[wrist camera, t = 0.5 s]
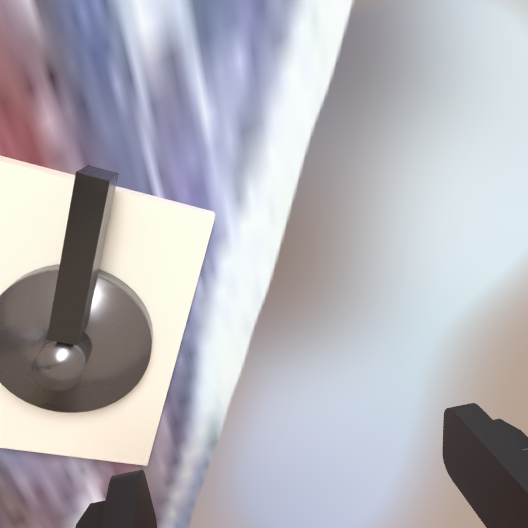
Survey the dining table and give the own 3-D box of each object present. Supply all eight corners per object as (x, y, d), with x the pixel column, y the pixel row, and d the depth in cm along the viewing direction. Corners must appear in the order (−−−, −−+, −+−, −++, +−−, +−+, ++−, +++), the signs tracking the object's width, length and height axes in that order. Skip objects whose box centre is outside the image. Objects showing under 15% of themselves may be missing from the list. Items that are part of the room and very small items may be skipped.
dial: (136, 410, 35) (128, 451, 31) (-17, 386, 32) (-49, 428, 28) (192, 189, 30) (191, 202, 26) (15, 141, 27) (-17, 147, 23)
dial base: (148, 452, 39) (143, 495, 34) (-93, 421, 34) (-133, 465, 30) (214, 212, 32) (217, 227, 28) (-71, 137, 28) (-117, 142, 24)
